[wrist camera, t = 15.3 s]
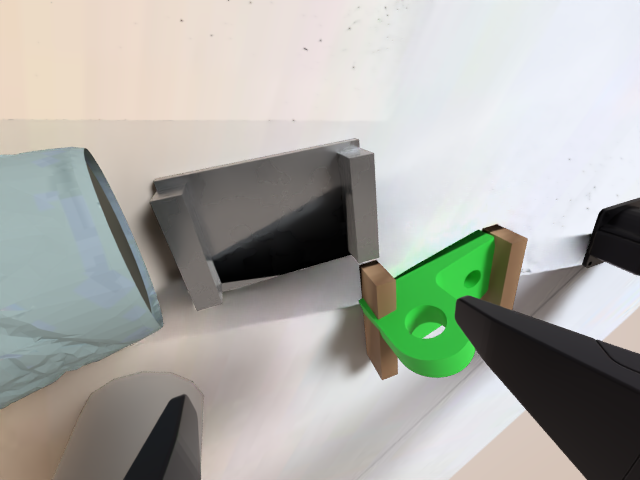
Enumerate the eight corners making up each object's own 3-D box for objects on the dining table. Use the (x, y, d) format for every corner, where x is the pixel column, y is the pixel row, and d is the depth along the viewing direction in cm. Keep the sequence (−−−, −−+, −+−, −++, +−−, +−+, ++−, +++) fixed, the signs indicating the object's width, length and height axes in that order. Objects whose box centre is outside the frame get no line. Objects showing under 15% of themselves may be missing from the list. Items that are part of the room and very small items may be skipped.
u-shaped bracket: (355, 138, 19) (373, 144, 17) (363, 246, 23) (379, 263, 20) (155, 178, 17) (145, 191, 14) (201, 292, 20) (199, 317, 18)
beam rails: (496, 224, 26) (527, 238, 23) (483, 311, 31) (507, 331, 28) (359, 265, 23) (376, 286, 21) (366, 353, 28) (382, 380, 25)
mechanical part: (378, 343, 28) (437, 423, 21) (358, 300, 24) (420, 377, 18) (481, 276, 29) (567, 330, 22) (474, 227, 26) (573, 273, 19)
